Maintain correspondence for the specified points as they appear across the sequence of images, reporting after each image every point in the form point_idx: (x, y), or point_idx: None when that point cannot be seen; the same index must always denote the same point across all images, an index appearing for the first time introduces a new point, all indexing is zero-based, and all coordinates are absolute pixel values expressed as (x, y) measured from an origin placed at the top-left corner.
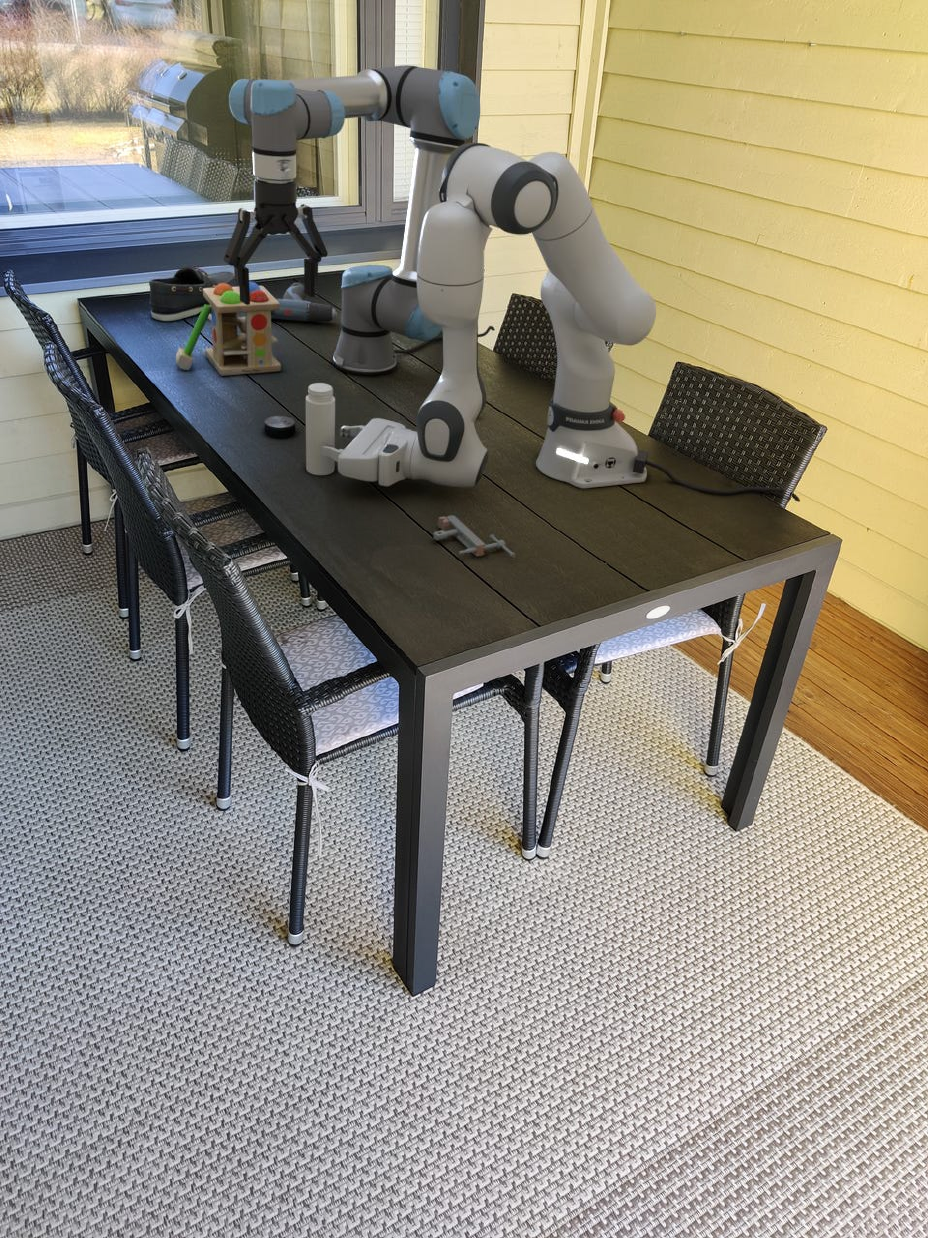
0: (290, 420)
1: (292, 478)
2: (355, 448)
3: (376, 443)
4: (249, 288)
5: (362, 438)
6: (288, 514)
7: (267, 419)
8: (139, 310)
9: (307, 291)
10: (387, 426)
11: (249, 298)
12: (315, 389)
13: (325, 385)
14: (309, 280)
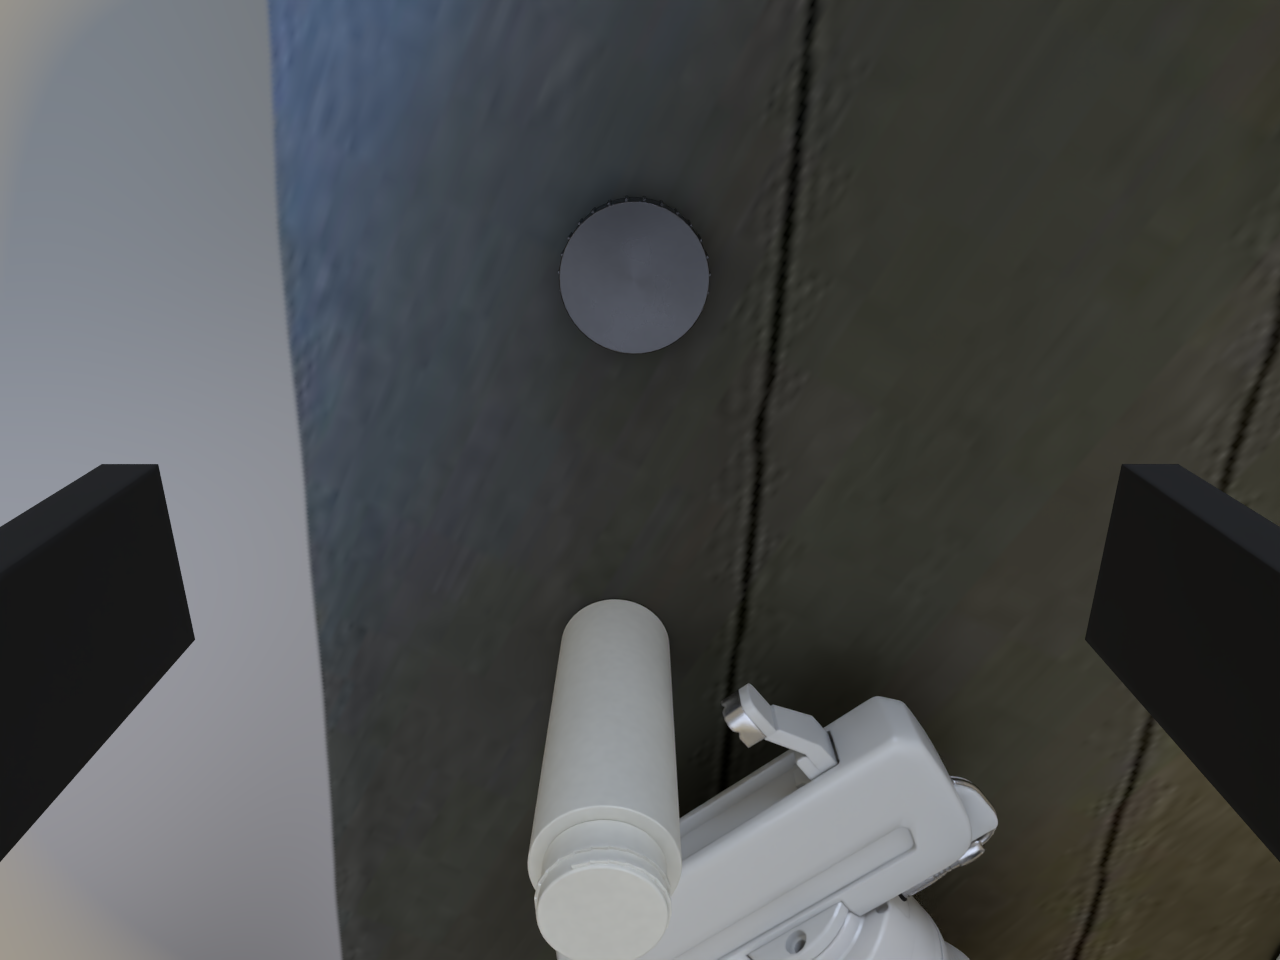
0: (689, 290)
1: (484, 665)
2: None
3: (755, 918)
4: (77, 772)
5: (724, 881)
6: (366, 852)
7: (589, 227)
8: None
9: (1126, 573)
10: (899, 824)
11: (149, 686)
12: (561, 929)
13: (641, 907)
14: (1219, 734)
